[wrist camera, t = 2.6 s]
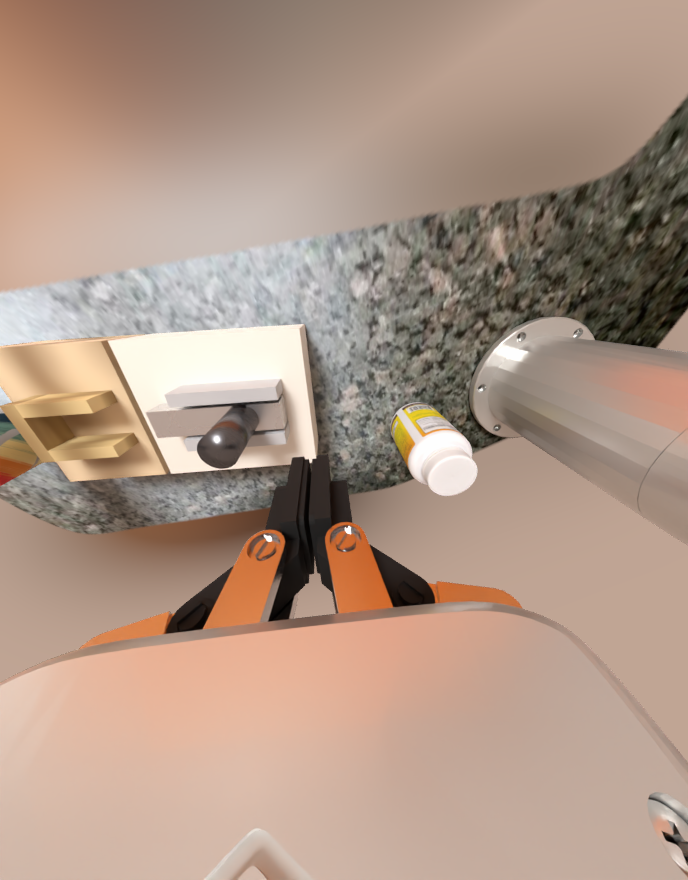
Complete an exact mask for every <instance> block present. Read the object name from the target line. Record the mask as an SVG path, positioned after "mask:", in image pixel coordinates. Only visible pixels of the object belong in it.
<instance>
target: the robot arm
mask: <svg viewBox="0 0 688 880" xmlns="http://www.w3.org/2000/svg"><path fill="white" fill-rule="evenodd" d="M469 402H470V408H471V411H472V413H473V416H474V418H475V419H476V420H477V422H478V423H479V424H480V425H481V426H482V427H484V428H485V429H486V430H487V431H489V432H491V433H492V434H495V435H498V436H501V437H509V438H515V437H524V438H526V439H528V440H529V441H530V442H532V443H533V444H535V445H536V446H538V447H539V448H541V449H542V450H544V451H545V452H547V453H548V454H550V455H551V456H553V457H554V458H556V459H557V460H559V461H560V462H562V463H563V464H565V465H566V466H568V467H569V468H570V469H572V470H574V471H575V472H576V473H578V474H580V475H581V476H583V477H584V478H585V479H587V480H588V481H590V482H591V483H593V484H595V485H596V486H597V487H599V488H600V489H602V490H603V491H605V492H607V493H608V494H609V495H611V496H612V497H614V498H615V499H617V500H618V501H620V502H621V503H623V504H624V505H626V506H627V507H629V508H630V509H632V510H633V511H635V512H636V513H638V514H639V515H641V516H642V517H644V518H646V519H647V520H649V521H650V522H652V523H653V524H655V525H656V526H658V527H659V528H661V529H663V530H664V531H665V532H667V533H668V534H670V535H671V536H673V537H675V538H677V539H678V540H680V541H681V542H683V543H685V544H686V545H688V352H680V351H672V350H664V349H657V348H649V347H642V346H634V345H626V344H618V343H611V342H603V341H595V339H594V337H593V334H592V333H591V332H590V331H589V329H588V328H587V327H586V326H585V325H583V324H582V323H580V322H578V321H576V320H573V319H570V318H565V317H542V318H538V319H534V320H530V321H528V322H525V323H523V324H521V325H519V326H517V327H515V328H514V329H512V330H511V331H509V332H508V333H506V334H504V335H503V336H502V337H501V338H500V339H499V340H498V341H497V342H495V343H494V344H493V345H492V347H491V348H490V349H489V350H488V351H487V353H486V354H485V355H484V356H483V358H482V360H481V361H480V363H479V364H478V366H477V368H476V371H475V373H474V375H473V378H472V381H471V385H470V391H469ZM314 555H315V561H316V566H317V572H318V573H320V575H321V581H322V584H323V585H324V586H326V587H327V588H328V589H329V590H330V591H331V592H332V596H333V602H334V607H335V613H336V614H331V615H322V616H313V617H305V618H296V619H294V615H295V610H296V606H297V601H298V592H299V591H300V590H301V589H302V588H303V587H304V586H305V584H307V583H309V574H314ZM0 880H688V762H687V761H686V760H685V758H684V757H683V756H682V755H681V754H680V752H679V751H678V750H677V749H676V747H675V746H674V745H673V744H672V743H671V741H670V740H669V739H668V737H667V736H666V735H665V734H664V733H663V731H662V730H661V729H660V728H659V726H658V725H657V724H656V723H655V721H654V720H653V719H652V718H651V717H650V715H649V714H648V713H647V712H646V710H645V709H644V708H643V707H642V706H641V704H640V703H639V702H638V701H637V700H636V699H635V697H634V696H633V695H632V694H631V693H630V692H629V690H628V689H627V688H626V687H625V686H624V685H623V683H622V682H621V681H620V680H619V679H618V678H617V677H616V675H615V674H614V673H613V672H612V671H611V670H610V669H609V668H608V667H607V665H606V664H605V663H604V662H603V661H602V660H601V659H600V658H599V657H598V656H597V655H596V654H595V653H594V652H593V651H592V650H591V649H590V648H589V647H588V646H587V645H586V644H585V643H584V642H583V641H582V640H581V639H580V638H579V637H577V636H576V635H575V634H573V633H572V632H571V631H570V630H568V629H567V628H565V627H564V626H562V625H560V624H559V623H557V622H555V621H553V620H551V619H548V618H546V617H544V616H541V615H539V614H536V613H534V612H531V611H528V610H525V609H523V608H522V607H521V605H520V603H519V602H518V601H517V600H516V599H515V598H514V597H512V596H511V595H510V594H508V593H506V592H505V591H503V590H499V589H496V588H489V587H481V586H473V585H465V584H456V583H449V582H440V581H437V582H436V584H431V583H427V582H426V581H425V580H424V579H422V578H421V577H420V576H418V575H417V574H415V573H413V572H412V571H410V570H409V569H407V568H405V567H404V566H402V565H401V564H399V563H398V562H396V561H395V560H393V559H392V558H390V557H388V556H387V555H385V554H384V553H382V552H380V551H379V550H377V549H376V548H374V547H373V546H371V545H370V544H369V542H368V540H367V537H366V535H365V532H364V531H363V529H362V528H361V527H360V526H358V525H356V524H354V523H352V517H351V510H350V503H349V495H348V488H347V481H346V480H342V481H331V478H330V468H329V458H328V454H326V455H317V457H316V459H312V471H311V468H310V462H309V459H305V457H293V458H292V461H291V466H290V471H289V477H288V482H287V486H278V487H276V489H275V493H274V497H273V501H272V505H271V509H270V513H269V517H268V521H267V525H266V529H265V530H264V531H261V532H258V533H257V534H255V535H253V536H252V537H251V538H250V539H249V540H248V541H247V542H246V544H245V545H244V547H243V549H242V551H241V553H240V555H239V557H238V559H237V561H236V563H235V565H234V566H233V567H231V568H230V569H229V570H227V571H226V572H225V573H224V574H222V575H221V576H220V577H218V578H217V579H216V580H215V581H214V582H212V583H211V584H209V585H208V586H207V587H206V588H204V589H203V590H202V591H201V592H199V593H198V594H196V595H195V596H194V597H193V598H191V599H190V600H189V601H188V602H186V603H185V604H184V605H183V606H182V607H181V608H179V609H178V610H177V612H176V613H173V614H171V612H170V611H168V612H165V613H162V614H159V615H156V616H153V617H150V618H147V619H144V620H141V621H138V622H135V623H132V624H129V625H126V626H123V627H120V628H117V629H114V630H111V631H108V632H105V633H102V634H100V635H98V636H96V637H94V638H92V639H91V640H89V641H88V642H87V643H85V644H84V645H82V646H81V647H80V648H79V649H78V650H75V651H71V652H68V653H65V654H63V655H60V656H57V657H54V658H51V659H49V660H46V661H43V662H41V663H39V664H37V665H35V666H32V667H30V668H28V669H26V670H24V671H22V672H20V673H17V674H15V675H13V676H11V677H9V678H8V679H6V680H4V681H2V682H0Z"/></svg>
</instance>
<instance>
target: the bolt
mask: <svg viewBox="0 0 688 880" xmlns="http://www.w3.org/2000/svg"><path fill="white" fill-rule="evenodd" d="M146 415H147V417H148V419H149V421H150V423H151V425H152V427H153V429H154V432H155V434H156V436H157V438H167V437H181V436H194V435H204V436H203V437H202V438H201V439H200V441H199V442H198V444H197V452H198V455H199V457H200V458H201V460H202V461H203V462H205V463H206V464H207V465H209V466H211V467H214V468H218V469H225V468H229V467H232V466H233V465H235V464H236V462H237V461H238V459H239V457H240V456H241V454H242V452H243V450H244V449H245V447H246V445H247V444H248V442H249V440H250V438H251V437H252V435H253V433H254V432H255V431H261V430H274V429H284V428H285V425H286V422H287V419H288V418H287V412H286V407H285V401H284V396H283V395H280V397H279V399H278V400H270V401H256V402H242V403H228V404H214V405H200V406H186V407H172V408H169V405H168V403H161V404H159V405H157V406H156V407H154V408H152V409H150V410H149V411H147V412H146Z"/></svg>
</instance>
